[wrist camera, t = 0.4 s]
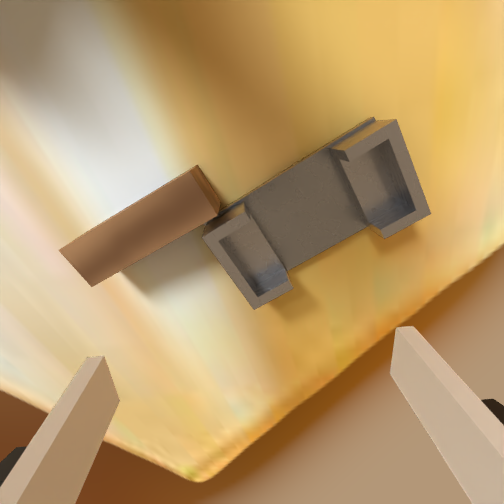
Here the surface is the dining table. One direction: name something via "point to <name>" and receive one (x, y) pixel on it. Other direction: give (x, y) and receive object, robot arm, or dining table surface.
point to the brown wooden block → (143, 227)
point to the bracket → (317, 208)
